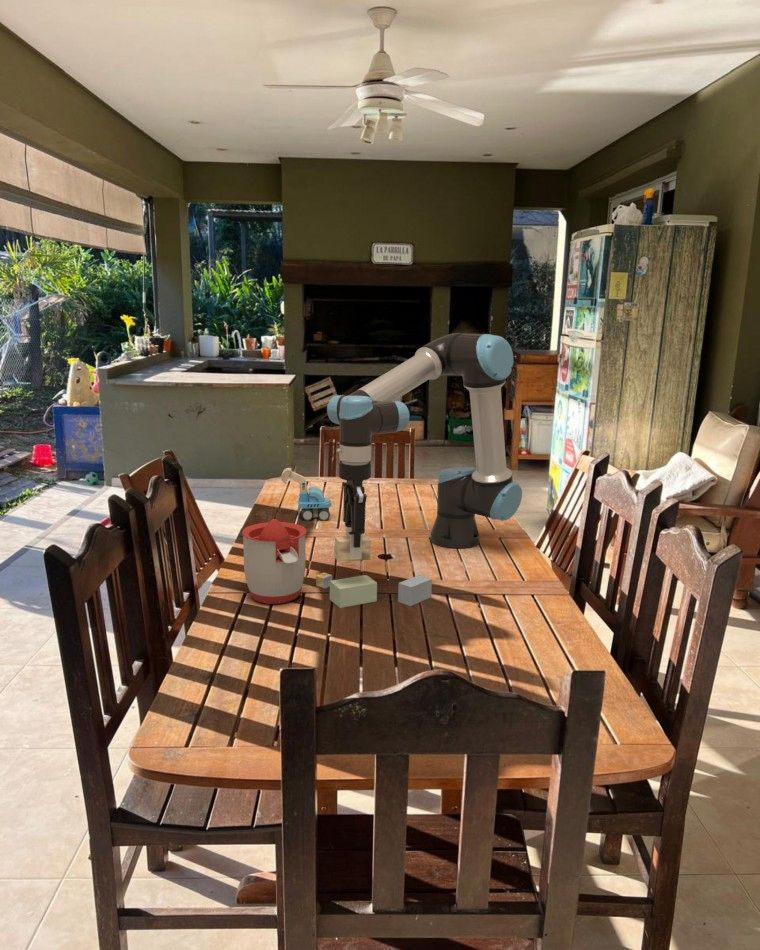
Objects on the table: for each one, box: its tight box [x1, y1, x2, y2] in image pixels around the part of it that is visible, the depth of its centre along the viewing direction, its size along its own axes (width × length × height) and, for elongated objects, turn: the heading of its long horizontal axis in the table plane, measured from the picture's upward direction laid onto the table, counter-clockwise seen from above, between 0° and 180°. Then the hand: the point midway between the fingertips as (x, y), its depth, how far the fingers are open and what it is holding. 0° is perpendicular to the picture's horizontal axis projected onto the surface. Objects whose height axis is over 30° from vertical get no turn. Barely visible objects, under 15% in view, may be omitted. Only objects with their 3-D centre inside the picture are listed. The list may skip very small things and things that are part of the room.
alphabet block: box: [315, 572, 333, 589], centre depth 195 cm, size 3×3×3 cm
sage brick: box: [329, 574, 378, 609], centre depth 186 cm, size 10×6×5 cm, turn 118°
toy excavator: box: [281, 467, 332, 522], centre depth 254 cm, size 9×17×17 cm, turn 95°
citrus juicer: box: [241, 518, 308, 605], centre depth 185 cm, size 16×17×20 cm
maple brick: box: [333, 534, 372, 563], centre depth 183 cm, size 8×4×5 cm, turn 106°
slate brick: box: [397, 574, 433, 607], centre depth 187 cm, size 8×4×5 cm, turn 138°
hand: (353, 555), depth 184 cm, fingers closed on maple brick, 4 cm apart
